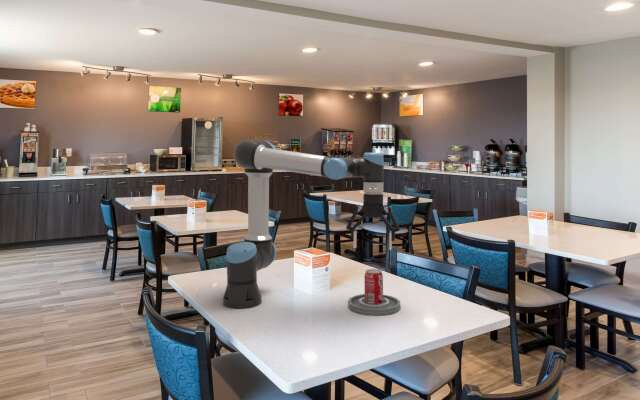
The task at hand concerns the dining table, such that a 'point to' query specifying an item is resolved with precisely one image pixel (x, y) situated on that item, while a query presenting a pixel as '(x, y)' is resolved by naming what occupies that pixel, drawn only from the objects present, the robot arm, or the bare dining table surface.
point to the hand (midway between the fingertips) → (372, 248)
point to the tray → (374, 306)
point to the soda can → (373, 287)
